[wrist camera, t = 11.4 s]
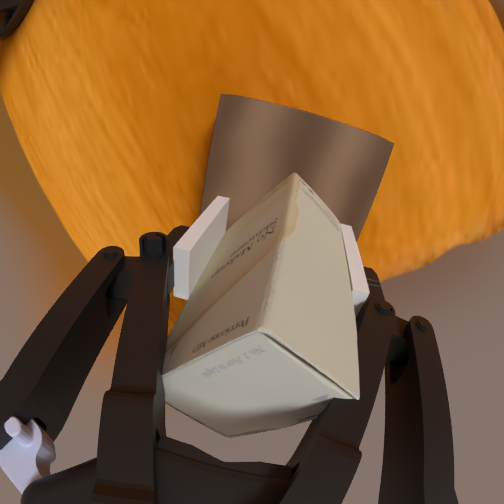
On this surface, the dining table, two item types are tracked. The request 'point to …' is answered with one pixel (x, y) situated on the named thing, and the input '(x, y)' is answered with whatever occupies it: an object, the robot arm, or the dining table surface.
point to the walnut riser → (291, 158)
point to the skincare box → (267, 321)
